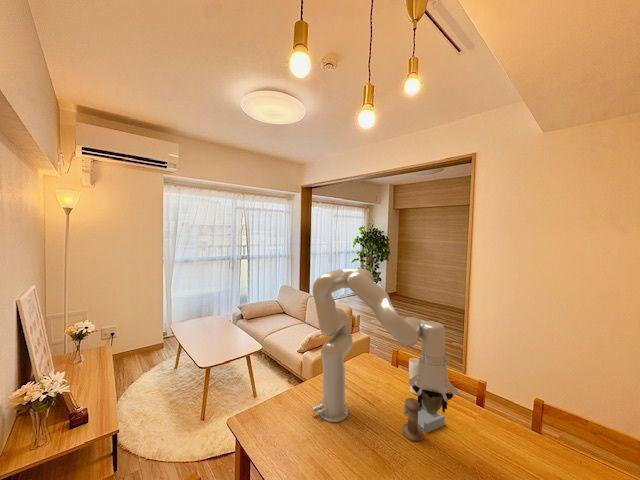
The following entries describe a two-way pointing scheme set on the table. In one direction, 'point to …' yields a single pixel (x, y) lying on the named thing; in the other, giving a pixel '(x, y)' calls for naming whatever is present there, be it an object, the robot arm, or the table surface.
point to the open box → (428, 419)
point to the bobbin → (412, 421)
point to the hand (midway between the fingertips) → (431, 407)
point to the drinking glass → (413, 371)
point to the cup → (432, 401)
